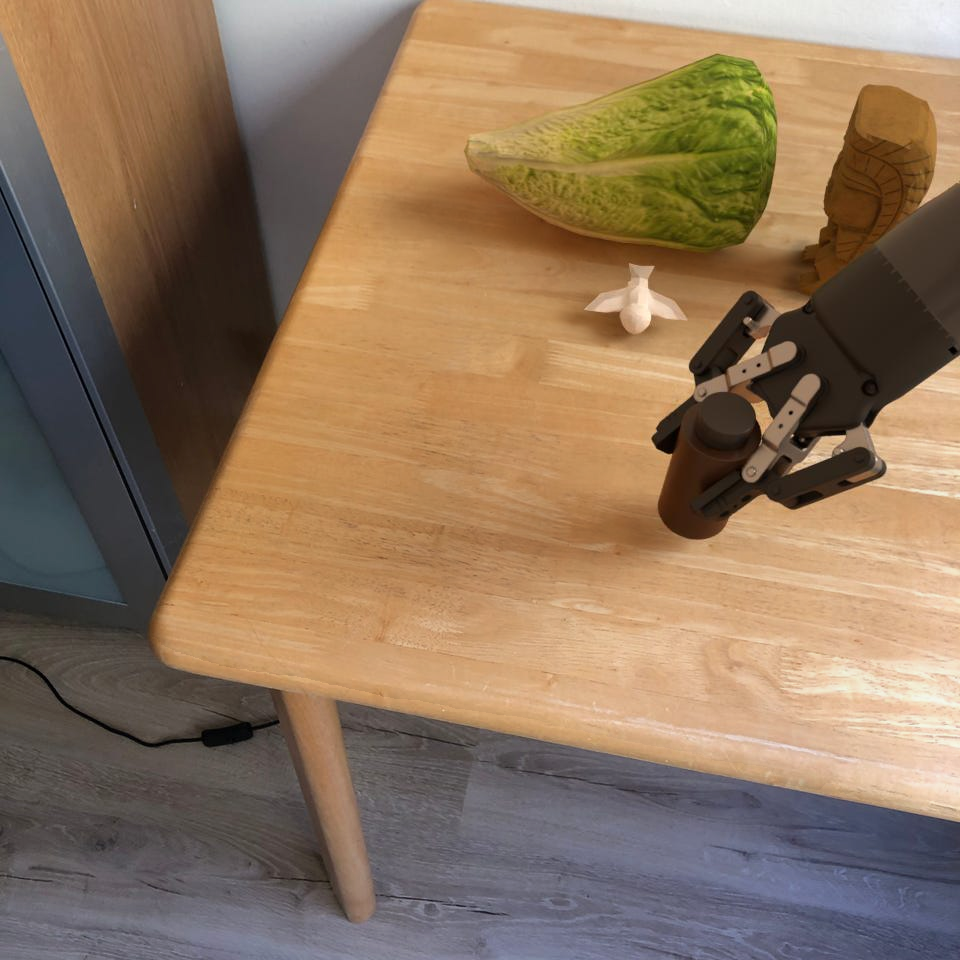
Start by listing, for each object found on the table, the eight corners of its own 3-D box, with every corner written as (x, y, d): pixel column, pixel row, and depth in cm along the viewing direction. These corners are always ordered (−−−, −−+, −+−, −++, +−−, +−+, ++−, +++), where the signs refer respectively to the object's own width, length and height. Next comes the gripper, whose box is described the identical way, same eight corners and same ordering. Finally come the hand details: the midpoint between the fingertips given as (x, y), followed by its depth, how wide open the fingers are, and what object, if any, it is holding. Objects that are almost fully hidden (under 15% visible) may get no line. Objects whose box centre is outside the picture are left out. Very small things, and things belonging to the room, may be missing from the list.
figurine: (800, 242, 81) (861, 78, 69) (879, 259, 80) (956, 96, 68) (789, 297, 77) (853, 134, 65) (872, 316, 76) (953, 154, 64)
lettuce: (463, 282, 79) (474, 181, 89) (766, 280, 77) (743, 177, 87) (451, 115, 68) (464, 21, 78) (803, 109, 66) (772, 13, 76)
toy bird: (580, 335, 73) (588, 276, 71) (581, 311, 77) (589, 254, 75) (686, 346, 73) (698, 288, 70) (682, 321, 77) (693, 265, 74)
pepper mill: (742, 511, 63) (785, 414, 55) (698, 553, 61) (735, 458, 53) (687, 469, 65) (720, 369, 57) (642, 509, 63) (670, 411, 55)
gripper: (827, 179, 53) (597, 377, 60) (987, 365, 45) (700, 567, 52) (876, 236, 58) (659, 411, 66) (1026, 411, 50) (761, 587, 58)
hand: (679, 479), depth 59 cm, fingers closed on pepper mill, 4 cm apart
